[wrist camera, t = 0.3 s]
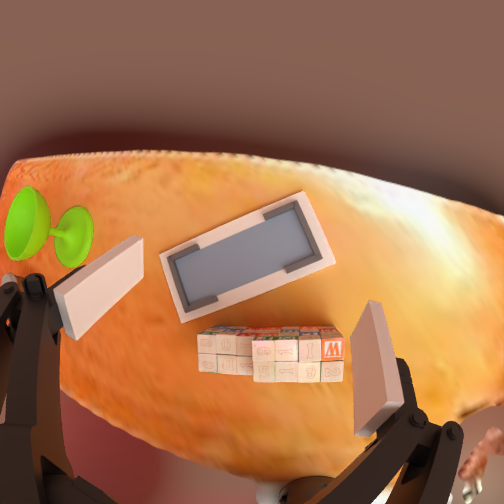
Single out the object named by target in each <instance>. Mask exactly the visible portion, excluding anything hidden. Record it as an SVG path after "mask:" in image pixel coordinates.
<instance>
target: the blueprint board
mask: <svg viewBox="0 0 504 504" xmlns="http://www.w3.org/2000/svg"><path fill="white" fill-rule="evenodd" d="M159 257H160V260H161V263H162V267H163V270H164V273H165V276H166V280H167V283H168V286H169V289H170V292H171V295H172V298H173V301H174V304H175V307H176V310H177V312H178V315H179V318H180V321H181V323H185V322H188V321H190V320H193V319H196V318H199V317H201V316H204V315H207V314H210V313H212V312H215V311H218V310H221V309H223V308H226V307H229V306H231V305H234V304H237V303H239V302H242V301H244V300H247V299H250V298H252V297H255V296H257V295H260V294H262V293H265V292H267V291H270V290H272V289H275V288H277V287H280V286H282V285H285V284H287V283H290V282H292V281H295V280H297V279H300V278H302V277H304V276H307V275H309V274H312V273H314V272H316V271H319V270H321V269H323V268H326V267H328V266H330V265H333V264H335V263H336V260H335V258H334V256H333V253H332V251H331V248H330V246H329V244H328V242H327V239H326V237H325V235H324V232H323V230H322V228H321V226H320V223H319V221H318V219H317V217H316V215H315V212H314V210H313V208H312V206H311V204H310V202H309V200H308V197H307V195H306V193H305V191H301V192H299V193H296V194H294V195H291V196H289V197H287V198H284V199H282V200H279V201H277V202H275V203H272V204H270V205H268V206H265V207H263V208H261V209H258V210H256V211H254V212H251V213H249V214H247V215H244V216H242V217H240V218H238V219H235V220H233V221H231V222H229V223H226V224H224V225H222V226H220V227H217V228H215V229H213V230H211V231H209V232H206V233H204V234H202V235H200V236H198V237H195V238H193V239H191V240H189V241H187V242H185V243H182V244H180V245H178V246H176V247H174V248H172V249H170V250H168V251H165V252H163V253H161V254H159Z"/></svg>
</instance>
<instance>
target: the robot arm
mask: <svg viewBox="0 0 504 504" xmlns="http://www.w3.org/2000/svg"><path fill="white" fill-rule="evenodd" d="M143 277H144V266H143V237H139V236H136V235H132V236H130V237H129V238H127V239H126V240H124V241H122V242H121V243H119V244H118V245H116V246H115V247H113V248H112V249H110V250H109V251H107V252H106V253H104V254H103V255H101V256H100V257H98V258H97V259H95V260H94V261H92V262H91V263H89V264H88V265H84V266H81V267H78V268H76V269H74V270H73V271H72V272H70V274H67V275H66V276H65V277H63V278H62V279H60V280H59V281H57V282H56V283H55V284H53V285H52V286H51V287H49V288H48V289H47V285H46V281H45V277H44V276H43V275H42V274H40V273H33V274H30V275H27V276H26V277H25V278H23V280H22V281H21V282H22V286H23V289H24V292H22V291H20V289H19V285H18V284H17V282H14V281H11V282H6V283H5V284H3V285H2V286H1V287H0V414H1V410H2V407H3V403H4V400H5V396H6V393H7V399H6V416H5V422H4V424H0V504H122V503H120V502H119V501H117V500H116V499H114V498H112V497H111V496H109V495H108V494H106V493H105V492H103V491H102V490H100V489H98V488H97V487H95V486H94V485H92V484H90V483H89V482H87V481H86V480H84V479H83V478H81V477H80V476H78V477H77V478H75V477H74V474H73V471H72V467H71V464H70V463H69V460H68V458H67V456H66V453H65V447H64V440H63V432H62V421H61V409H60V384H59V365H60V340H61V333H60V329H61V328H62V327H63V326H64V329H65V332H66V335H68V336H69V337H71V338H72V339H74V340H76V341H77V340H78V339H79V338H80V337H81V336H82V335H83V334H84V333H85V332H86V331H87V330H88V329H89V328H90V327H91V326H92V325H93V324H94V323H95V322H96V321H98V320H99V319H100V318H101V317H102V316H103V315H104V314H105V313H106V312H107V311H108V310H109V309H110V308H111V307H112V306H113V305H114V304H115V303H116V302H117V301H118V300H120V299H121V298H122V297H123V296H124V295H125V294H126V293H127V292H128V291H129V290H130V289H131V288H132V287H134V286H135V285H136V284H137V283H138V282H139V281H140V280H141V279H142V278H143ZM7 319H9V322H10V323H9V325H8V326H7V324H6V322H7ZM350 341H351V354H352V370H353V392H354V436H365V437H370V436H371V435H372V434H373V433H374V432H375V431H376V432H377V438H376V439H375V440H374V441H373V442H371V443H370V444H369V445H368V446H367V447H365V450H364V451H363V452H362V453H361V454H360V455H359V456H358V457H357V458H356V459H355V460H354V461H353V462H352V463H351V464H350V465H349V466H348V467H347V468H346V469H345V470H344V471H343V472H342V473H341V474H340V475H339V476H337V477H336V478H335V479H334V478H330V477H324V476H313V477H306V478H301V479H298V480H295V481H293V482H291V483H289V484H288V485H286V486H285V487H284V488H283V489H282V490H281V492H280V494H279V498H278V504H371V503H372V502H373V501H374V500H375V499H376V498H377V496H378V495H379V494H380V493H381V492H382V491H383V490H384V488H385V487H386V486H387V485H388V484H389V482H390V481H391V480H392V479H393V477H394V476H395V475H396V474H397V472H398V471H399V470H400V468H401V467H402V466H403V468H402V470H401V472H400V475H399V477H398V479H397V481H396V483H395V486H394V488H393V490H392V492H391V494H390V496H389V498H388V500H387V502H386V503H385V504H447V502H448V499H449V496H450V493H451V489H452V486H453V482H454V479H455V475H456V471H457V467H458V463H459V459H460V454H461V449H462V444H463V438H464V433H463V430H462V428H461V426H460V425H459V424H458V423H456V422H454V421H448V422H446V423H445V424H444V425H443V426H442V427H441V426H439V425H436V424H433V423H430V422H429V421H428V417H427V415H426V414H425V413H424V412H423V411H422V410H421V409H419V408H418V407H417V402H416V397H415V392H414V387H413V384H412V379H411V377H410V376H411V374H410V370H409V367H408V365H407V364H406V362H405V361H404V359H401V358H395V353H394V349H393V345H392V341H391V337H390V333H389V329H388V325H387V322H386V318H385V315H384V311H383V308H382V304H381V303H379V302H375V301H371V300H369V301H368V303H367V305H366V307H365V309H364V311H363V313H362V315H361V317H360V319H359V321H358V323H357V325H356V327H355V329H354V331H353V333H352V335H351V337H350ZM403 464H404V465H403Z"/></svg>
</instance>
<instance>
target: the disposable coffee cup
mask: <svg viewBox="0 0 504 504" xmlns="http://www.w3.org/2000/svg"><path fill="white" fill-rule="evenodd" d="M23 278H24V277H20V276H16V275H14V274H12V273H8V274H5V275H4V276H3V278H2V281H1V286H2V285H3V284H5V283H6V282H11V281H14V282H17V284H18V285H19V289H20V291H22V292H24V289H23V286H22V282H21V281H22V280H23Z"/></svg>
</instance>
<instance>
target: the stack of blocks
mask: <svg viewBox="0 0 504 504" xmlns="http://www.w3.org/2000/svg"><path fill="white" fill-rule="evenodd" d="M197 344H198V362H199V371H201V372H212V373H221V374H238V375H253V382H340V381H342V380H343V366H344V361H343V359H344V337H343V336H342V334H341V333H340V332H339V331H338V330H337V329H336V327H335V326H319V327H318V326H283V327H248V326H214V327H211V328H209V329H206V330H204V332H201V333H199V334H197Z"/></svg>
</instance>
